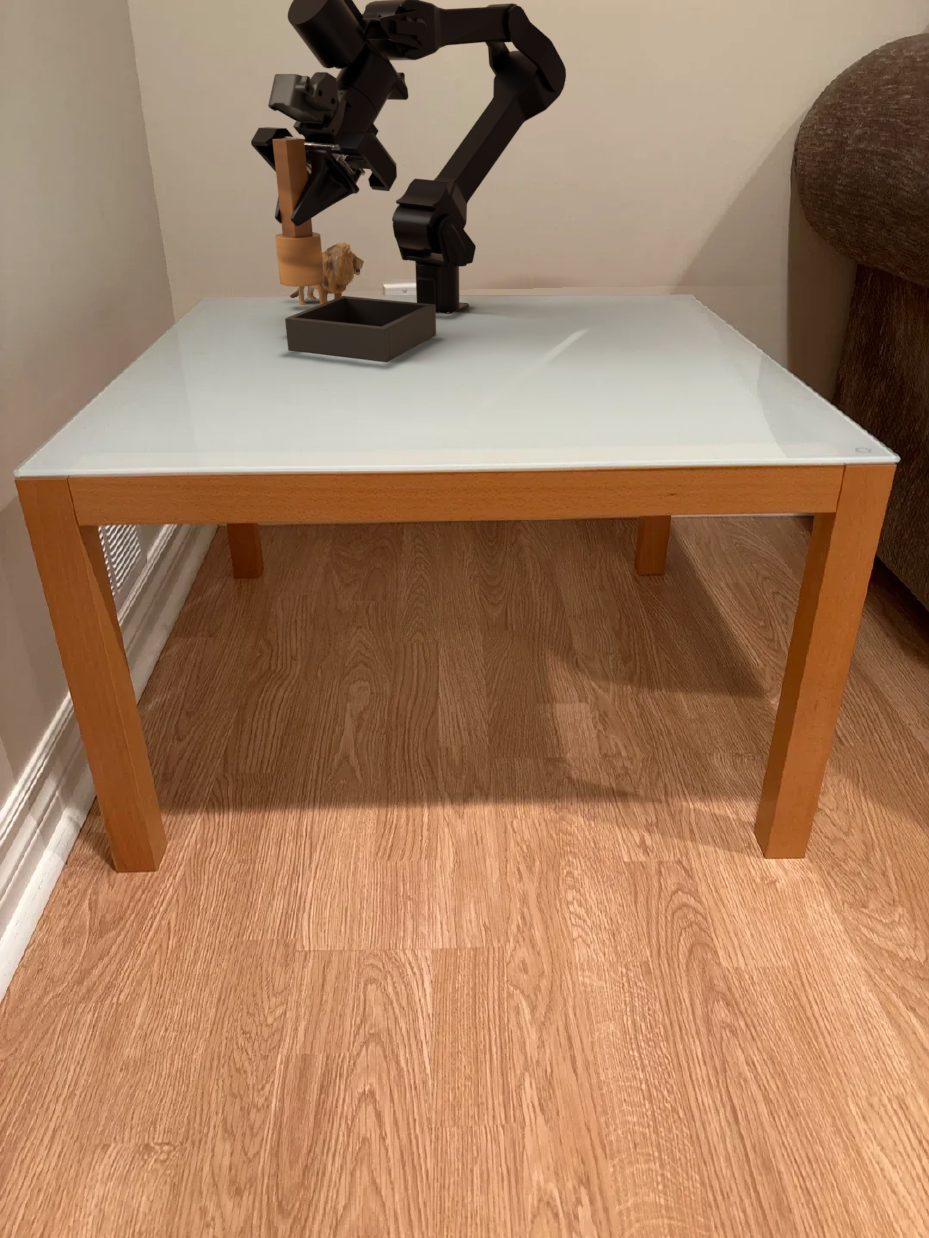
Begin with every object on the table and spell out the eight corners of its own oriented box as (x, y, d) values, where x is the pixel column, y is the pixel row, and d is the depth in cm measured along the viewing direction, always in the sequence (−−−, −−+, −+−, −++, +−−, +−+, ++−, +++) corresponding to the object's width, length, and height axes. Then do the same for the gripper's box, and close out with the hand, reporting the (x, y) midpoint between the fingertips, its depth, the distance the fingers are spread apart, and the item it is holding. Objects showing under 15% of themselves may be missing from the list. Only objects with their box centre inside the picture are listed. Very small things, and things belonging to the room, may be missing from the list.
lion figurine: (372, 315, 120) (367, 242, 116) (339, 322, 117) (334, 247, 112) (305, 298, 129) (299, 230, 125) (274, 304, 126) (266, 234, 122)
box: (345, 330, 114) (342, 295, 112) (436, 339, 109) (435, 304, 107) (288, 355, 104) (284, 318, 102) (386, 367, 100) (384, 329, 98)
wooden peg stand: (306, 276, 108) (293, 136, 100) (333, 281, 105) (321, 138, 97) (271, 282, 105) (254, 139, 97) (297, 288, 102) (282, 141, 94)
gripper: (253, 43, 100) (184, 163, 99) (370, 40, 90) (293, 174, 88) (316, 122, 109) (252, 232, 108) (428, 127, 99) (359, 250, 98)
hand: (286, 222), depth 100 cm, fingers closed on wooden peg stand, 2 cm apart
